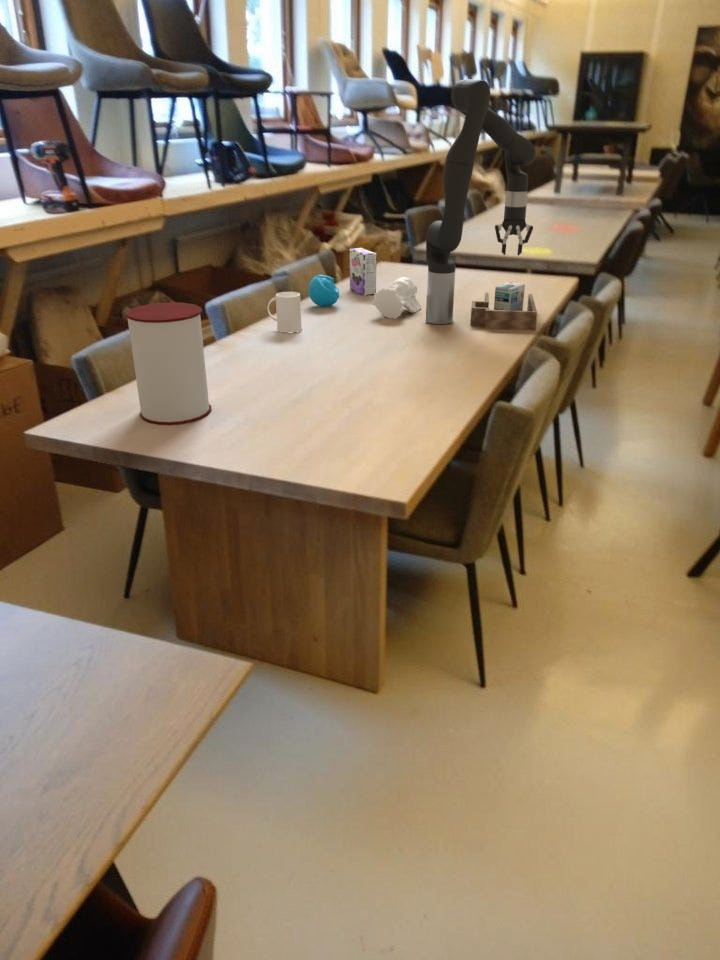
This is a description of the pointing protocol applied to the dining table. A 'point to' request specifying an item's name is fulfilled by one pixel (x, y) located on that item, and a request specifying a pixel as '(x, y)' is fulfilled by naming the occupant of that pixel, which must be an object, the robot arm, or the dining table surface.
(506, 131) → the robot arm
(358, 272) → the candy box
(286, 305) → the mug
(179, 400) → the container
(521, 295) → the light bulb box
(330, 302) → the sphere
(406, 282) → the cherub figurine
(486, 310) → the wooden tray
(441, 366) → the dining table surface
